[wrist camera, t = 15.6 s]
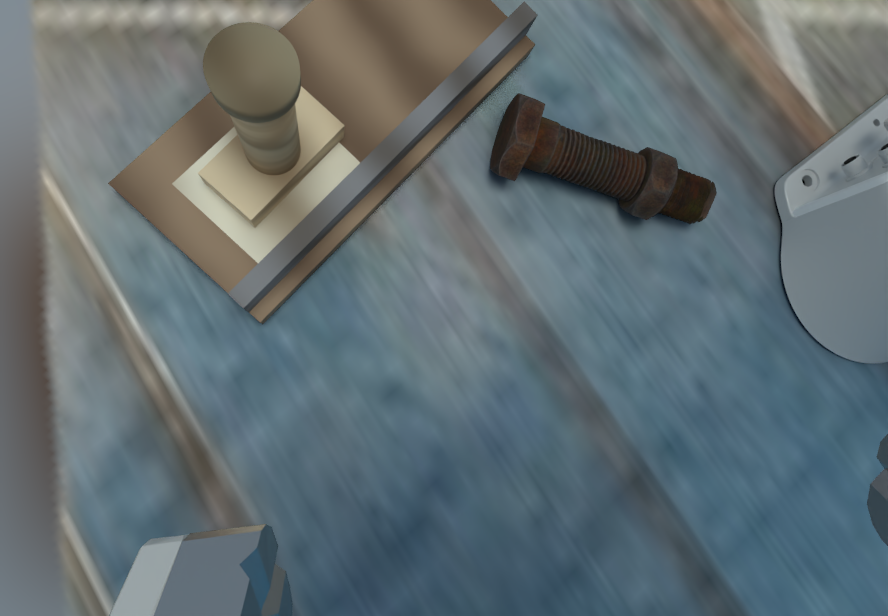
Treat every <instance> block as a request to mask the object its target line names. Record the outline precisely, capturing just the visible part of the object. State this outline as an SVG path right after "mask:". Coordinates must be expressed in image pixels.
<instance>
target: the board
mask: <svg viewBox="0 0 888 616" xmlns="http://www.w3.org/2000/svg"><path fill="white" fill-rule="evenodd" d="M536 17H537V14H536V13H535V12H534V11H533V10H532V9H531V8H530V7H529V6H528V5H527V4H526V3H525V2H523V3H522V4H521V5H520V6H519V7H518V8H517V9H516V10H515V11H514V12H513V13H512V14H511V15H510V16H509V17H507V16H506V15H505V14H504V13H503V12H502V11H501V10H500V9H499V8H498V7H497V6H496V5H495V4H494V3H493V2H492V1H491V0H313V1H312V2H310V3H309V4H308V5H307V6H306V7H305V8H304V9H303V10H302V11H300V12H299V13H298V14H297V15H296V16H295V17H294V18H293V19H291V20H290V21H289V22H288V23H287V24H286V25H285V26H284V27H283V28H281V29H280V30H279V31H278V32H280V33H281V34H282V35H284V36H285V37H286V38H287V39H288V40H289V42H290V43H291V44H292V46H293V47H294V49H295V51H296V53H297V56H298V59H299V64H300V74H301V86H302V87H303V88H304V89H305V90H306V91H307V92H308V93H309V94H311V95H312V96H313V97H314V98H315V99H316V100H317V101H318V102H319V103H320V104H322V105H323V106H324V107H325V108H326V109H327V110H328V111H329V112H330V113H331V114H333V115H334V116H335V117H336V118H337V119H338V120H339V121H340V122H341V123H342V124H344V125H345V126H344V138H343V139H342V140H341V141H340V142H339V143H338V144H337V145H336V146H335V147H334V148H333V149H332V150H331V151H330V152H329V153H328V154H327V155H326V156H325V157H324V158H323V159H322V160H321V161H320V162H319V163H318V164H317V165H316V166H315V167H314V168H313V169H312V170H311V171H310V172H309V173H308V174H307V175H306V177H305V178H304V179H303V180H302V181H301V182H300V183H299V184H298V185H297V186H296V187H295V188H294V189H293V190H292V191H291V192H290V193H289V194H288V195H287V196H286V197H285V198H284V199H283V200H282V201H281V202H280V203H279V204H278V205H277V206H276V207H275V208H274V209H273V210H272V211H271V212H270V213H269V214H268V215H267V216H266V217H265V218H264V219H263V220H262V221H261V222H260V223H259V224H258V225H257V226H256V228H255V227H253V226H252V225H251V224H250V223H249V222H248V221H247V220H245V219H244V218H243V217H242V216H241V215H240V214H239V213H238V212H236V211H235V210H234V209H233V208H232V207H231V206H230V205H228V204H227V203H226V202H225V201H224V200H223V199H222V198H221V197H219V196H218V195H217V194H216V193H215V192H214V191H213V190H211V189H210V188H209V187H208V186H207V185H206V184H205V183H204V182H203V180H202V179H201V177H200V176H199V174H198V172H199V171H200V170H201V169H203V168H204V167H205V166H206V165H207V164H208V163H209V162H210V161H211V160H212V159H213V158H214V157H215V156H216V155H217V154H218V153H219V152H220V151H221V150H222V149H223V148H224V147H225V146H226V145H227V144H228V143H229V142H230V141H231V140H232V139H233V138H234V137H235V136H236V135H237V132H236V129H235V127H234V124H233V121H232V119H231V116H230V115H229V114H228V113H227V112H225V111H224V110H223V109H222V108H221V107H220V106H219V105H218V103H217V102H216V101H215V99H214V97H213V95H212V93H211V92H210V93H209V94H208V95H206V96H205V97H204V98H203V99H202V100H201V101H200V102H199V103H198V104H196V105H195V106H194V107H193V108H192V109H191V110H190V111H189V112H187V113H186V114H185V115H184V116H183V117H182V118H181V119H180V120H179V121H177V122H176V123H175V124H174V125H173V126H172V127H171V128H170V129H168V130H167V131H166V132H165V133H164V134H163V135H162V136H161V137H160V138H158V139H157V140H156V141H155V142H154V143H153V144H152V145H151V146H149V147H148V148H147V149H146V150H145V151H144V152H143V153H142V154H141V155H139V156H138V157H137V158H136V159H135V160H134V161H133V162H132V163H130V164H129V165H128V166H127V167H126V168H125V169H124V170H123V171H122V172H120V173H119V174H118V175H117V176H116V177H115V178H114V179H113V180H111V181H110V182H109V183H108V184H109V185H110V186H112V187H113V188H114V189H115V190H116V191H117V192H118V193H119V194H120V195H121V196H122V197H124V198H125V199H126V200H127V201H128V202H129V203H130V204H131V205H132V206H133V207H134V208H136V209H137V210H138V211H139V212H140V213H141V214H142V215H143V216H144V217H145V218H147V219H148V220H149V221H150V222H151V223H152V224H153V225H154V226H155V227H156V228H157V229H159V230H160V231H161V232H162V233H163V234H164V235H165V236H166V237H167V238H168V239H169V240H171V241H172V242H173V243H174V244H175V245H176V246H177V247H178V248H179V249H180V250H181V251H183V252H184V253H185V254H186V255H187V256H188V257H189V258H190V259H191V260H192V261H193V262H195V263H196V264H197V265H198V266H199V267H200V268H201V269H202V270H203V271H204V272H205V273H207V274H208V275H209V276H210V277H211V278H212V279H213V280H214V281H215V282H216V283H218V284H219V285H220V286H221V287H222V288H223V289H224V290H225V291H226V292H227V293H228V295H229V296H230V297H232V298H233V299H234V300H235V301H236V302H237V303H238V304H239V305H240V306H241V307H242V308H244V309H245V310H246V311H248V312H249V313H250V314H251V315H252V316H254V317H255V318H256V319H257V320H258V321H259V322H260V323H262V324H264V323H265V322H266V321H267V320H268V319H269V318H270V317H271V315H272V314H273V313H274V312H275V311H276V310H277V309H278V308H279V307H280V306H281V305H282V304H283V303H284V302H285V301H286V300H287V299H288V298H289V297H290V296H291V295H292V294H293V293H294V292H295V291H296V290H297V289H298V288H299V287H300V286H301V285H302V284H303V283H304V282H305V281H306V280H307V279H308V278H309V277H310V276H311V275H312V274H313V273H314V272H315V271H316V270H317V269H318V268H319V267H320V266H321V265H322V264H323V263H324V262H325V261H326V260H327V259H328V258H329V257H330V256H331V255H332V254H333V253H334V252H335V251H336V250H337V249H338V248H339V247H340V246H341V245H342V244H343V243H344V242H345V241H346V240H347V239H348V238H349V237H350V235H351V234H352V233H353V232H354V231H355V230H356V229H357V228H358V227H359V226H360V225H361V224H362V223H363V222H364V221H365V220H366V219H367V218H368V217H369V216H370V215H371V214H372V213H373V212H374V211H375V210H376V209H377V208H378V207H379V206H380V205H381V204H382V203H383V202H384V201H385V200H386V199H387V198H388V197H389V196H390V195H391V194H392V193H393V192H394V191H395V190H396V189H397V188H398V187H399V186H400V185H401V184H402V183H403V182H404V181H405V180H406V179H407V178H408V177H409V176H410V175H411V174H412V173H413V172H414V171H415V170H416V169H417V168H418V167H419V166H420V165H421V164H422V163H423V162H424V161H425V160H426V159H427V158H428V156H429V155H430V154H431V153H432V152H433V151H434V150H435V149H436V148H437V147H438V146H439V145H440V144H441V143H442V142H443V141H444V140H445V139H446V138H447V137H448V136H449V135H450V134H451V133H452V132H453V131H454V130H455V129H456V128H457V127H458V126H459V125H460V124H461V123H462V122H463V121H464V120H465V119H466V118H467V117H468V116H469V115H470V114H471V113H472V112H473V111H474V110H475V109H476V108H477V107H478V106H479V105H480V104H481V103H482V102H483V101H484V100H485V99H486V98H487V97H488V96H489V95H490V94H491V93H492V92H493V91H494V90H495V89H496V88H497V87H498V86H499V85H500V84H501V83H502V82H503V81H504V80H505V79H506V78H507V76H508V75H509V74H510V73H511V72H512V71H513V70H514V69H515V68H516V67H517V66H518V65H519V64H520V63H521V62H522V61H523V60H524V59H525V58H526V57H527V56H528V55H529V54H530V52H531V50H532V49H533V47H534V46H535V44H534V43H533V42H532V41H531V40H530V39H529V38H528V37H527V36H526V34H527V32H528V30H529V29H530V27H531V25H532V24H533V22H534V20H535V19H536Z"/></svg>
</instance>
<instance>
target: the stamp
mask: <svg viewBox="0 0 888 616" xmlns="http://www.w3.org/2000/svg"><path fill="white" fill-rule="evenodd" d="M203 70H204V75H205V79H206V81H207V84H208V86H209V88H210V91H211V93H212V95H213V97H214V99H215V101H216V102H217V103H218V105H219V106H220V107H221V108H222V109H223V110H224V111H225V112H227V113H228V114H229V115H230V116H231V119H232V121H233V124H234V127H235V129H236V132H237V135H236V136H235V137H234V138H233V139H232V140H231V141H230V142H229V143H228V144H227V145H226V146H225V147H224V148H223V149H222V150H221V151H220V152H219V153H218V154H217V155H216V156H215V157H214V158H213V159H212V160H211V161H210V162H209V163H208V164H207V165H206V166H205V167H204V168H203V169H201V170H200V171H199V172H198V174H199V176H200V177H201V179H202V180H203V182H204V183H205V184H206V185H207V186H208V187H209V188H210V189H211V190H213V191H214V192H215V193H216V194H217V195H218V196H219V197H221V198H222V199H223V200H224V201H225V202H226V203H227V204H228V205H230V206H231V207H232V208H233V209H234V210H235V211H236V212H238V213H239V214H240V215H241V216H242V217H243V218H244V219H245V220H247V221H248V222H249V223H250V224H251V225H252V226H253V227H255V228H256V226H257V225H258V224H259V223H260V222H261V221H262V220H263V219H264V218H265V217H266V216H267V215H268V214H269V213H270V212H271V211H272V210H273V209H274V208H275V207H276V206H277V205H278V204H279V203H280V202H281V201H282V200H283V199H284V198H285V197H286V196H287V195H288V194H289V193H290V192H291V191H292V190H293V189H294V188H295V187H296V186H297V185H298V184H299V183H300V182H301V181H302V180H303V179H304V178H305V177H306V175H307V174H308V173H309V172H310V171H311V170H312V169H313V168H314V167H315V166H316V165H317V164H318V163H319V162H320V161H321V160H322V159H323V158H324V157H325V156H326V155H327V154H328V153H329V152H330V151H331V150H332V149H333V148H334V147H335V146H336V145H337V144H338V143H339V142H340V141H341V140H342V139H343V138H344V126H345V125H344V124H342V123H341V122H340V121H339V120H338V119H337V118H336V117H335V116H334V115H333V114H331V113H330V112H329V111H328V110H327V109H326V108H325V107H324V106H323V105H322V104H320V103H319V102H318V101H317V100H316V99H315V98H314V97H313V96H312V95H311V94H309V93H308V92H307V91H306V90H305V89H304V88H303V87H302V86H301V74H300V64H299V59H298V56H297V53H296V51H295V49H294V47H293V46H292V44H291V43H290V42H289V40H288V39H287V38H286V37H285V36H284V35H282V34H281V33H280V32H278V31H277V30H275V29H273V28H271V27H269V26H266V25H263V24H259V23H251V22H247V23H238V24H234V25H231V26H229V27H227V28H225V29H223V30H221V31H220V32H219V33H218V34H216V35H215V36H214V37H213V39H212V40H211V41H210V43H209V44H208V46H207V48H206V51H205V54H204V59H203Z"/></svg>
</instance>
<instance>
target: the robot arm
mask: <svg viewBox="0 0 888 616" xmlns="http://www.w3.org/2000/svg"><path fill="white" fill-rule="evenodd" d="M802 179H803V180H804V182H805V185H804V184H803V182H802ZM775 199H776V203H777V207H778V211H779V214H780V218H781V221H782V245H781V269H782V276H783V281H784V285H785V289H786V292H787V295H788V298H789V301H790V303H791V305H792V307H793V309H794V311H795V313H796V315H797V316H798V318H799V320H800V321H801V323H802V324H803V325H804V327H805V328H806V329H807V330H808V332H809V333H810V334H811V335H812V336H813V337H814V338H815V339H816V340H817V341H818V342H819V343H821V344H822V345H823V346H824V347H826V348H827V349H829V350H830V351H832V352H834V353H835V354H837V355H839V356H841V357H844V358H846V359H849V360H852V361H856V362H861V363H885V362H888V94H887V95H885V96H884V97H883V98H881V99H880V100H879V101H878V102H876V103H875V104H874V105H873V106H871V107H870V108H869V109H867V110H866V111H865V112H864V113H862V114H861V115H860V116H859V117H857V118H856V119H855V120H853V121H852V122H851V123H850V124H848V125H847V126H846V127H845V128H843V129H842V130H841V131H839V132H838V133H837V134H836V135H834V136H833V137H832V138H830V139H829V140H828V141H827V142H825V143H824V144H823V145H822V146H820V147H819V148H818V149H816V150H815V151H814V152H813V153H811V154H810V155H809V156H808V157H806V158H805V159H804V160H802V161H801V162H800V163H799V164H797V165H796V166H795V167H794V168H792V169H791V170H790V171H788V172H787V173H786V174H785V175H783V176H782V177H781V178H780V179H779V180H778V181H777V183H776V185H775ZM877 459H878V460H879V462H880V463H881V464H882V466H883V467H884V470H883V471H882V472H881V473H880V474H879V475H878V476H877V477H876V478H875V480H874V481H873V482H872V483H871V484H870V489H869V495H868V501H867V505H868V509H869V513H870V517H871V520H872V524H873V526H874V528H875V529H876V531H877V533H878V534H879V536H880V538H881V539H882V541H883V542H884V543H885V544H886V545H887V546H888V434H887V435H886V436H885V437H884V438H883V440H882V441H881V442H880V446H879V450H878V454H877ZM277 550H278V544H277V541H276V538H275V535H274V532H273V529H272V527H271V526H269V525H267V524H263V525H255V526H246V527H238V528H230V529H222V530H214V531H206V532H198V533H190V534H189V535H180V536H172V537H164V538H155V539H150V540H149V541H148V542H146V543H145V544H144V545H143V546H142V547H141V548H140V550H139V552H138V554H137V556H136V559H135V561H134V563H133V565H132V567H131V569H130V572H129V574H128V576H127V578H126V580H125V582H124V585H123V587H122V589H121V591H120V593H119V595H118V597H117V600H116V602H115V604H114V606H113V608H112V610H111V613H110V615H109V616H292V596H291V590H290V584H289V581H288V577H287V574H286V571H285V570H283V569H282V568H280V567H279V566H278V565H276V564H275V560H276V555H277Z"/></svg>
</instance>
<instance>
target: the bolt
mask: <svg viewBox="0 0 888 616" xmlns="http://www.w3.org/2000/svg"><path fill="white" fill-rule="evenodd" d="M544 106H545V104H544V103H542V102H540V101H538V100H536V99H533V98H530V97H528V96H525V95H522V94H519V93H518V94H517V95H516V96H515V97H514V98H513V100H512V101H511V103H510V104H509V106H508V108H507V109H506V112H505V114H504V117H503V119H502V122H501V124H500V127H499V130H498V132H497V135H496V139H495V143H494V146H493V149H492V155H491V162H490V169H491V170H492V171H493V172H494V173H496V174H497V175H499V176H502V177H505V178H507V179H510V180H513V181H515V180H516V178H517V177H518V175H519V173H520V171H521V170H522V168H523V167H524V168H527V169H530V170H533V171H535V172H538V173H541V172H542V173H547V174H549V175H550V174H551V175H552V176H556V177H557V178H561V179H565V180H566V181H570V182H571V183H573V182H574V183H575V184H579V185H580V186H583V187H588V188H589V189H592V190H597V192H601V193H603V194H606V195H610V196H611V197H613V196H614V197H615V198H619V205H620V207H621V208H622V209H623V210H624V211H626V212H628V213H629V214H631V215H633V216H636V217H639V218H642V219H645V220H647V219H649V218H651V217H653V216H655V215H656V214H657V213H662V214H663V215H667V216H670V217H672V218H675V219H679V220H681V221H683V222H687V223H689V224H691V223H692V222H693V223H695V222H696V221H698V222H700V221H702V220H703V219H705V218H706V216H707V214H708V212H709V210H710V208H711V205H712V203H713V201H714V198H715V196H716V188H715V184H714V183H713V182H711V181H710V180H708V179H706V178H703V177H700V176H696V175H695V174H691V173H690V172H689V173H688V172H686V171H683V170H681V169H678V164H677V161H676V158H674V157H672V156H669V155H667V154H665V153H662V152H660V151H657V150H654V149H651V148H649V147H647V148H645V149H643V150H641V151H640V152H639V153H634V152H632V151H631V152H630V151H629V150H625V149H624V148H620V147H619V146H618V147H617V146H615V145H612V144H611V143H607V142H603V141H602V140H598V139H594V138H592V137H589V136H586V135H584V134H581V133H580V132H575V130H571V129H569V128H566V127H564V126H561V125H560V124H559V123H557V122H554V121H552V120H549V119H547V118H544V117H542V114H543V110H544Z"/></svg>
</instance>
